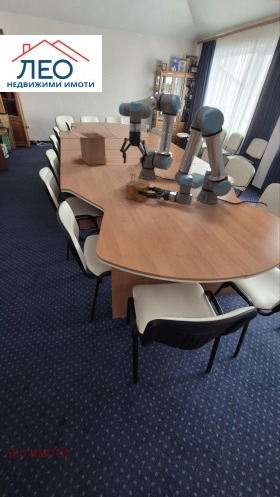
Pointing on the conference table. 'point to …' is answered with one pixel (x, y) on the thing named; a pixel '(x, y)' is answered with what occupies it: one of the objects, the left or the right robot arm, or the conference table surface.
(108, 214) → the conference table surface
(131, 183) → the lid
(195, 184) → the book
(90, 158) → the box
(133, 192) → the chest
